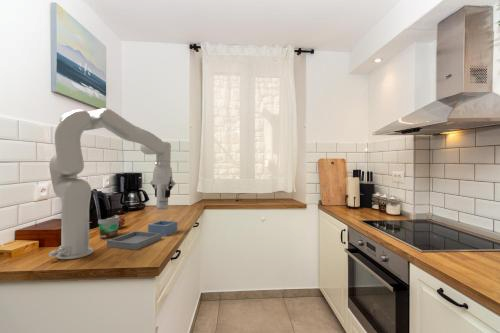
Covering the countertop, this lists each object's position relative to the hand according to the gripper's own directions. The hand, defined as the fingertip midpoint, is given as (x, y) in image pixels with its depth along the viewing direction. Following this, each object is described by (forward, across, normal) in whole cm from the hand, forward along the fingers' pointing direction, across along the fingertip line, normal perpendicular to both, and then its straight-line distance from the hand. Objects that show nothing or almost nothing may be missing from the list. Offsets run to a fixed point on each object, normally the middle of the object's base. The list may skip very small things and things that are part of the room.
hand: (162, 196), depth 140 cm
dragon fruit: (+20, -32, +1) cm, 38 cm away
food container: (+21, -21, -13) cm, 32 cm away
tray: (+20, -2, -18) cm, 27 cm away
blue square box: (+20, 0, +1) cm, 20 cm away
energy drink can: (+7, 0, 0) cm, 7 cm away
